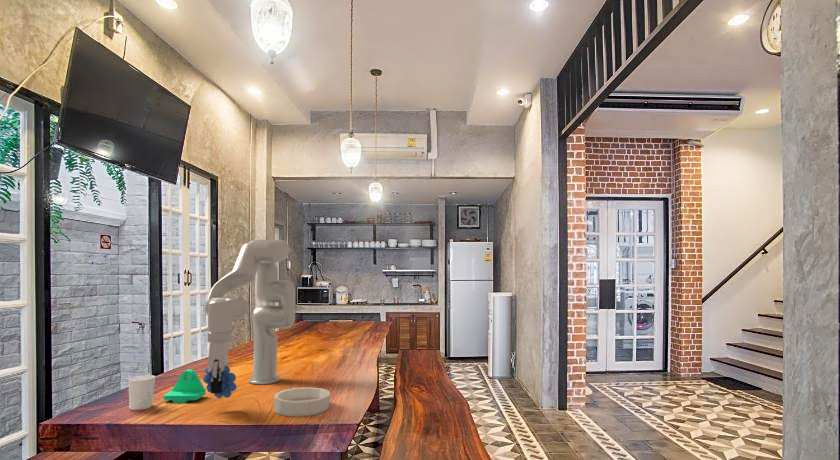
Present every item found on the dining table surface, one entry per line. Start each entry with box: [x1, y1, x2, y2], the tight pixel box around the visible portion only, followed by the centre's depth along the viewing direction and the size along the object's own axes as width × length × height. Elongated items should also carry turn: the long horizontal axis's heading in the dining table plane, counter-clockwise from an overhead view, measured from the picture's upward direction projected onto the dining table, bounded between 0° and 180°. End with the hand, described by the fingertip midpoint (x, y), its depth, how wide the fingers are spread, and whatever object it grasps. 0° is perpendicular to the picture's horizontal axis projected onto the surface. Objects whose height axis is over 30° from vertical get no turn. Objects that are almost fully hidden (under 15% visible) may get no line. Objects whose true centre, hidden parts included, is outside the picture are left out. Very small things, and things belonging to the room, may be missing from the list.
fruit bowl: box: [273, 386, 331, 418], centre depth 164 cm, size 18×18×5 cm
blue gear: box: [202, 364, 238, 399], centre depth 161 cm, size 12×7×12 cm, turn 86°
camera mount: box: [163, 368, 207, 404], centre depth 174 cm, size 12×8×10 cm, turn 92°
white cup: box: [128, 374, 156, 411], centre depth 164 cm, size 8×8×10 cm
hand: (218, 389), depth 161 cm, fingers closed on blue gear, 6 cm apart
